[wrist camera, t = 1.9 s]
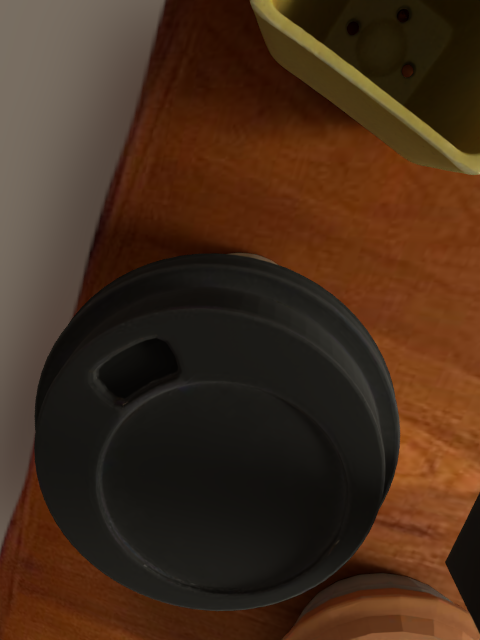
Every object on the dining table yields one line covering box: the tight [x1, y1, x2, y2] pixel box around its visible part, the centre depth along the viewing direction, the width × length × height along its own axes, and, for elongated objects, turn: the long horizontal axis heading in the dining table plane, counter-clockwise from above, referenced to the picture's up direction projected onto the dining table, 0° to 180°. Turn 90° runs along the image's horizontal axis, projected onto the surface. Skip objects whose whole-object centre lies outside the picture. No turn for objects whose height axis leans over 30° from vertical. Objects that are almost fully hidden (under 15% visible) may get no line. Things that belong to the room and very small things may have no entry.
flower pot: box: [250, 0, 480, 175], centre depth 15 cm, size 9×9×9 cm
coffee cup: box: [34, 253, 400, 611], centre depth 16 cm, size 9×9×15 cm
